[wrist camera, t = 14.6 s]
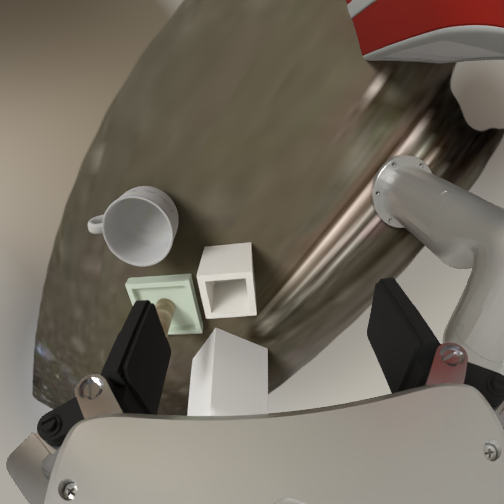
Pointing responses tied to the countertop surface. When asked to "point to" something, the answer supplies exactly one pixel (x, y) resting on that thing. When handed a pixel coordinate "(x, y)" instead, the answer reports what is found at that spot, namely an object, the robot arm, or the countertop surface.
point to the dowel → (165, 313)
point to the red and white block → (429, 30)
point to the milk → (229, 377)
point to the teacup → (139, 226)
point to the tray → (174, 290)
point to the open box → (227, 281)
